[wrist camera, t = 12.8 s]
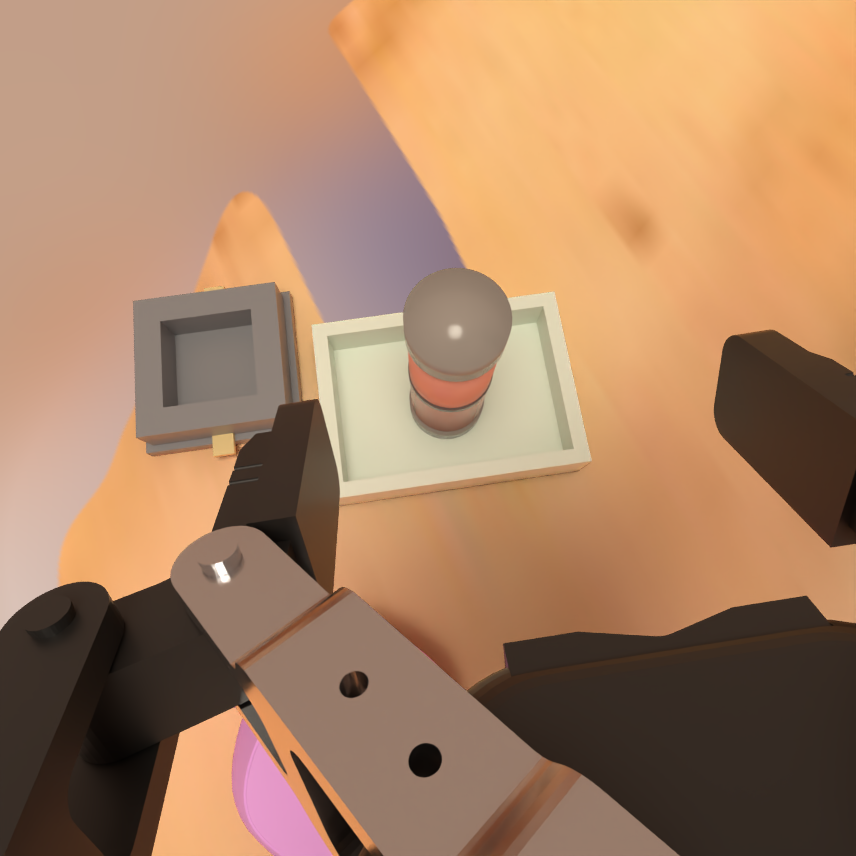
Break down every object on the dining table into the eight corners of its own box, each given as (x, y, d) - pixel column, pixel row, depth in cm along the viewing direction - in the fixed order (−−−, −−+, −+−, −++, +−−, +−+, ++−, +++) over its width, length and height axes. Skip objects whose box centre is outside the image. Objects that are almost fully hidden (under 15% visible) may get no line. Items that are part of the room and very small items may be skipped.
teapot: (419, 895, 29) (413, 1044, 20) (168, 735, 30) (58, 803, 21) (513, 695, 31) (547, 744, 22) (275, 557, 33) (215, 549, 24)
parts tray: (544, 314, 36) (554, 291, 33) (577, 470, 34) (591, 460, 31) (321, 345, 36) (311, 324, 33) (338, 506, 33) (329, 499, 30)
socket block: (291, 286, 37) (279, 262, 34) (306, 447, 34) (295, 436, 31) (148, 305, 37) (125, 283, 34) (153, 469, 34) (129, 460, 31)
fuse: (476, 366, 34) (502, 262, 23) (486, 434, 34) (520, 362, 22) (405, 374, 34) (396, 274, 23) (414, 443, 33) (410, 375, 22)
